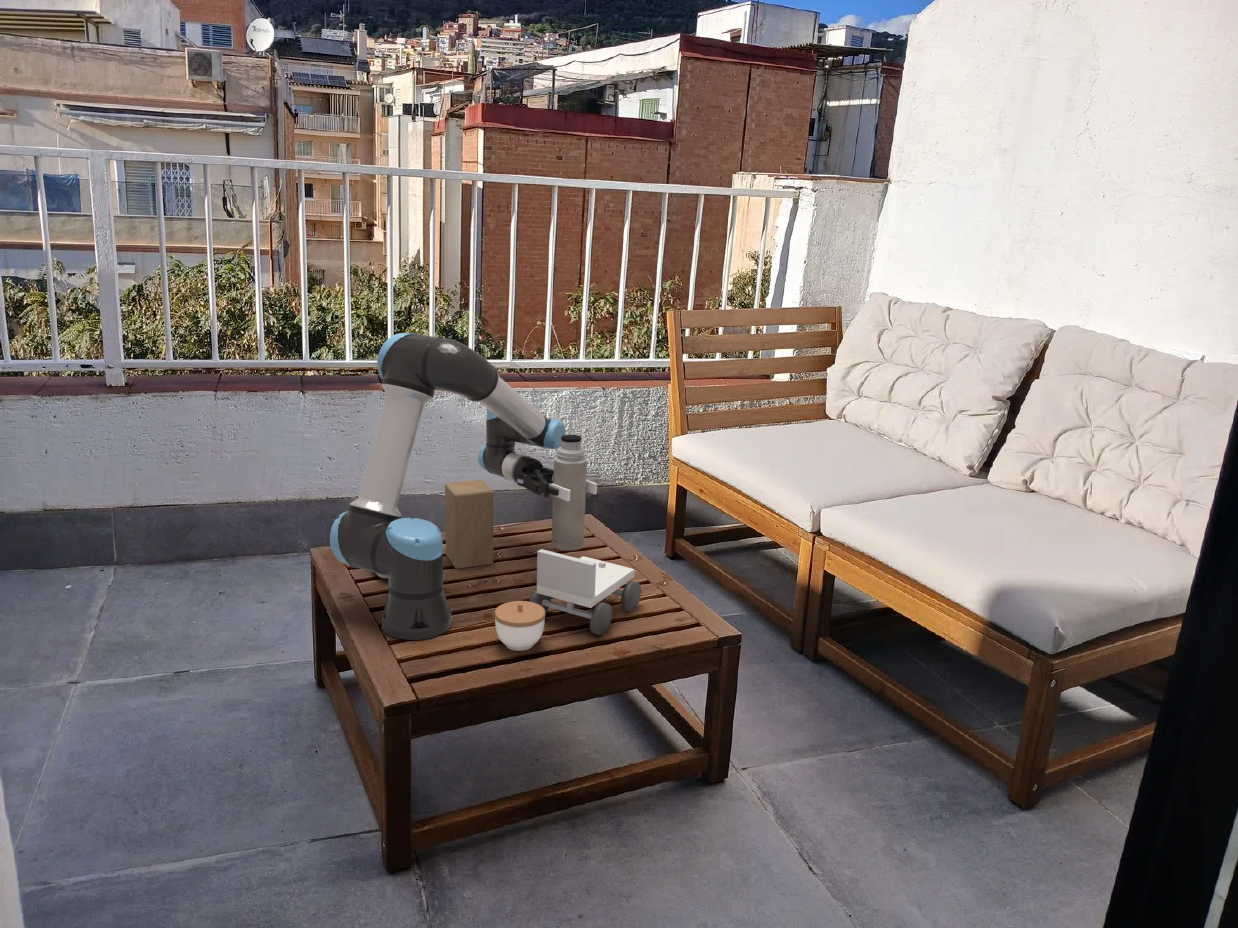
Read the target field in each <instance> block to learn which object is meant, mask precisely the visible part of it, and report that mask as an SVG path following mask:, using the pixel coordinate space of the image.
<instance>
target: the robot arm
mask: <svg viewBox="0 0 1238 928" xmlns="http://www.w3.org/2000/svg"><path fill="white" fill-rule="evenodd" d="M376 364H377V365H376V366H377V368H378V370H377V372H378V374H379V375H380V377H381V378H382V379H383V381H382V383H381V384H382V385H381V388H382V389H383V391H384V392H385V394H386V395H385V398H384V403H383V407H382V410H381V413H380V417H379V421H378V425H377V428H376V432H375V437H374V440H373V444H372V447H371V450H370V455H369V459H368V462H367V466H366V469H365V474H364V477H363V481H362V484H361V489H360V491H359V495H358V498H357V499H355V500H353V501H352V502H350V503H349V506H348V510H347V511H344V512H343V513H340V514H339V515H338V518H335V520H334V522H333V523H332V525H331V529H330V533H329V543H330V548H331V551H332V552H333V554H334V557H335V558H336V559H337V560H338V561H340V562H341V563H343V564H346V565H348V566H350V567H351V568H355V569H361V570H364V571H368V572H372V573H375V574H376V573H378V574H381V575H385V576H388V577H389V579H388V596H387V599H386V603H385V606H384V609H383V613H382V616H381V629H382V630H383V632H384V633H385V634H386V635H388V636H389V637H393V638H395V639H400V640H404V641H405V640H406V641H421V640H427V639H432V638H435V637H439V636H441V635H442V634H445V633H446V632H447V631H449V630H450V628H451V627H452V619H453V618H452V610H451V609H450V607H449V605H448V602H447V598H446V595H445V593H444V544H443V535H442V531H441V530H440V528H439V527H438V526H437V525H436V524H434V523H433V522H431V521H429V520H426V519H422V518H419V517H418V518H417V517H415V518H411V517H402V514H401V512H400V511H399V508H398V505H399V500H400V497H401V493H402V489H403V486H404V481H405V478H406V473H407V469H408V467H409V463H410V459H411V455H412V451H413V447H414V444H415V440H416V437H417V432H418V430H419V429H418V428H419V425H420V422H421V419H422V415H423V414H422V413H423V410H424V406H425V405H426V404H428V403H429V402H431V401H433V399H434V395H435V393H436V392H435V391H440V392H441V391H442V392H447V393H448V392H449V393H452V394H453V393H454V394H457V395H461V396H462V397H464V398H466V399H467V400H468V401H471V402H476V403H477V402H478V403H479V404H481V405H482V406H483V407H485V409H486V418H485V422H486V423H485V424H486V425H485V428H486V429H485V432H486V435H485V437H486V438H485V439H486V440H485V441H486V443H485V444H484V445H483V446H482V447H481V448H480V449H479V453H478V454H477V462H478V465H479V466H480V467H481V468H482V470H485V471H486V472H488V473H490V474H491V475H494V476H495V475H496V476H498V477H501V478H503V479H506V480H508V481H511V482H513V483H514V484H517V486H519V487H523V488H525V489H526V490H528V491H530V492H532V493H533V494H536V495H537V496H541V495H543V497H544V498H549V497H550V496H552V497H553V496H555V497H558V498H560V499H563V500H565V501H570V490H569V489H566V488H564V487H561V486H558V485H556V484H553V480H554V469H551V468H548V467H546V466H544V465H543V463H542V461H540V460H539V459H537V458H534V457H532V456H528V455H526V454H523V453H521V452H518V451H515V448H516V447H515V446H516V443H519V444H522V445H528V446H533V447H538V448H542V449H544V450H546V449H548V450H549V449H550V450H557V449H558V448H560V447H561V441H562V440H561V437H562V436H563V435H567V434H566V426H565V424H564V423H563V422H562V421H560V420H557V419H555V418H549V417H546V416H545V415H544V414H543V412H540V411H539V410H538V409H537V408H536V407H535V406H534V405H532V403H530V402H529V401H528V400H526V399H525V398H524V397H523V396H522V395H521V394H519V392H518V391H516V390H515V389H514V388H513V387H512V386H510V384H508V383H507V382H506V381H505V380H504V379H503V378H502V377H500V376H499V371H498V369H497V368H496V367H495V365H493V364H492V363H491V362H490V361H488V360H487V358H485V357H483V355H481V354H480V353H478V352H477V351H475V350H474V349H472V348H471V347H469V346H468V345H466V344H464V343H462V342H461V341H457V340H455V339H451V338H444V337H443V338H442V337H438V336H430V335H426V334H420V333H415V332H414V333H413V332H409V333H405V332H401V333H400V332H399V333H396V334H394V335H393V336H392V335H391V337H389V338H388V339H386V340H385V342H384V343H383V344H382V346H381V348H380V349H379V352H378V355H377V362H376ZM597 492H598V483H597V482H593V481H591V480H588V479H586V493H590V494H591V495H597V494H598V493H597Z"/></svg>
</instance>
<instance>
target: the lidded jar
mask: <svg viewBox="0 0 1238 928" xmlns="http://www.w3.org/2000/svg"><path fill="white" fill-rule="evenodd" d="M545 618H546V614H545V609H544V608H543V607H542V606H541V605H539V604H536V603H533V602H529V601H527V600H513V601H512V600H511V601H508V602H505V603H502V604H500V605H497V607H496V608H495V610H494V619H495V620H494V622H495V623H494V624H495V631H496V634H497V636H498V638H499V641H501V642H502V643H503V644H504V645H505V647H506V648H507V649H508V650H511V651H515V652H516V651H518V652H520V651H528V650H530V649H532V648H533V647H534V646H535V644H537V643H538V642H539V640H540V639H541V638H542V636H543V633H544V632H543V631H544V629H545V623H546V622H545Z"/></svg>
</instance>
